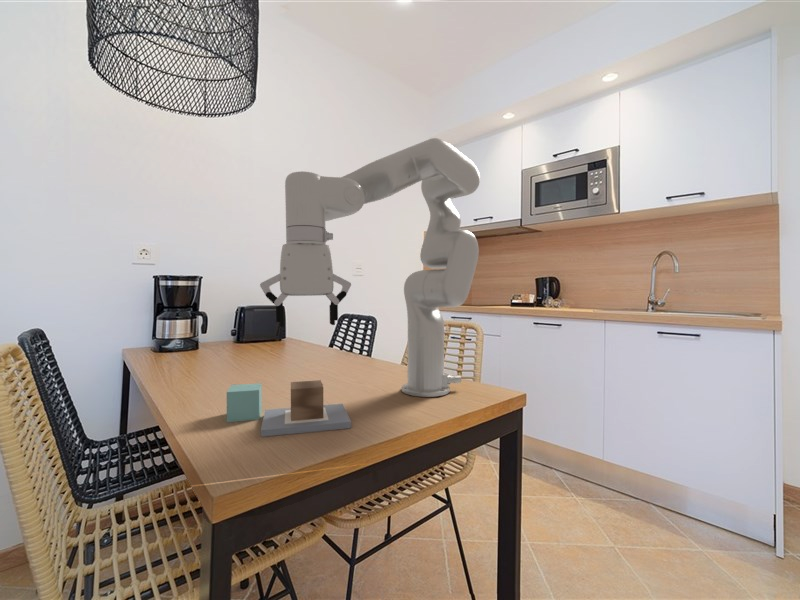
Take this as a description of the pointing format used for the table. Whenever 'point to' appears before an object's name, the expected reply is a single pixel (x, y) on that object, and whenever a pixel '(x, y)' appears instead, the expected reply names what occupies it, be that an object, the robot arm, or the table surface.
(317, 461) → the table surface
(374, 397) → the table surface
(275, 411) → the board
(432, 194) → the robot arm
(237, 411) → the teal block
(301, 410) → the walnut block
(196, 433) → the table surface
